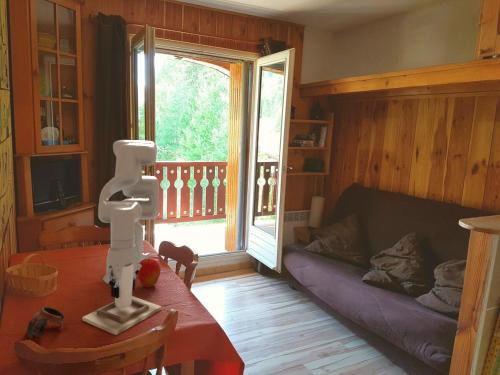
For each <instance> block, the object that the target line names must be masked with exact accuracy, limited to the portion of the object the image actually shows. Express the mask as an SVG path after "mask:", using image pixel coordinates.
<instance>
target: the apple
mask: <svg viewBox="0 0 500 375" xmlns="http://www.w3.org/2000/svg"><path fill="white" fill-rule="evenodd" d="M140 264H141V265H142V266H141V268H140V270H139V272H138V274H137V278H138V280H139V283H140V284H141V285H142V286H143V287H144V288H152V287H153V286H155V285H156V284H157V282H158V280H159V278H160V275H161V271H162V270H161V265H160V263H159V262H158V261H157V260H156V259H153V258H149V257H147V258H146V259H144V260H142V261H141V262H140Z"/></svg>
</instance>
